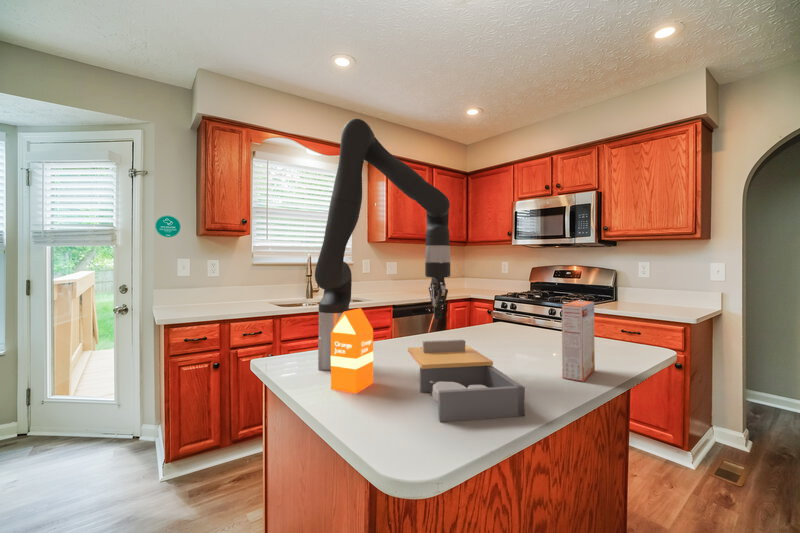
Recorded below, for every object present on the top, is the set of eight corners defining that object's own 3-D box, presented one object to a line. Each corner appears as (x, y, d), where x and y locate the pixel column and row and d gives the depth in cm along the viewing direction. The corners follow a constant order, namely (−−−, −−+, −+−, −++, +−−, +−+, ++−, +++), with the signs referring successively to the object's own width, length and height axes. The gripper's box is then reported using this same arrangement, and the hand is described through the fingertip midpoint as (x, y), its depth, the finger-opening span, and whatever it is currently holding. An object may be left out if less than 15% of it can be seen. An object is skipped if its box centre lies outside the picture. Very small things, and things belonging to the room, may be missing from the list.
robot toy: (484, 397, 91) (426, 396, 89) (486, 379, 91) (427, 378, 89) (507, 418, 79) (440, 418, 76) (509, 397, 79) (441, 396, 76)
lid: (422, 368, 90) (422, 352, 90) (407, 351, 109) (407, 337, 108) (493, 365, 94) (493, 349, 94) (467, 348, 112) (467, 335, 112)
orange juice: (330, 388, 94) (330, 311, 94) (349, 379, 102) (349, 307, 102) (356, 393, 91) (356, 312, 91) (373, 383, 99) (373, 308, 99)
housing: (440, 422, 75) (440, 392, 75) (419, 391, 93) (419, 367, 93) (524, 415, 78) (524, 387, 78) (489, 386, 96) (489, 364, 96)
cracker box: (573, 367, 114) (574, 300, 114) (595, 371, 110) (595, 301, 110) (560, 378, 103) (560, 303, 103) (583, 382, 99) (584, 305, 99)
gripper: (420, 261, 116) (420, 316, 116) (431, 261, 103) (431, 323, 103) (443, 261, 117) (443, 315, 117) (456, 261, 104) (457, 322, 104)
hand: (437, 319), depth 110 cm, fingers closed
